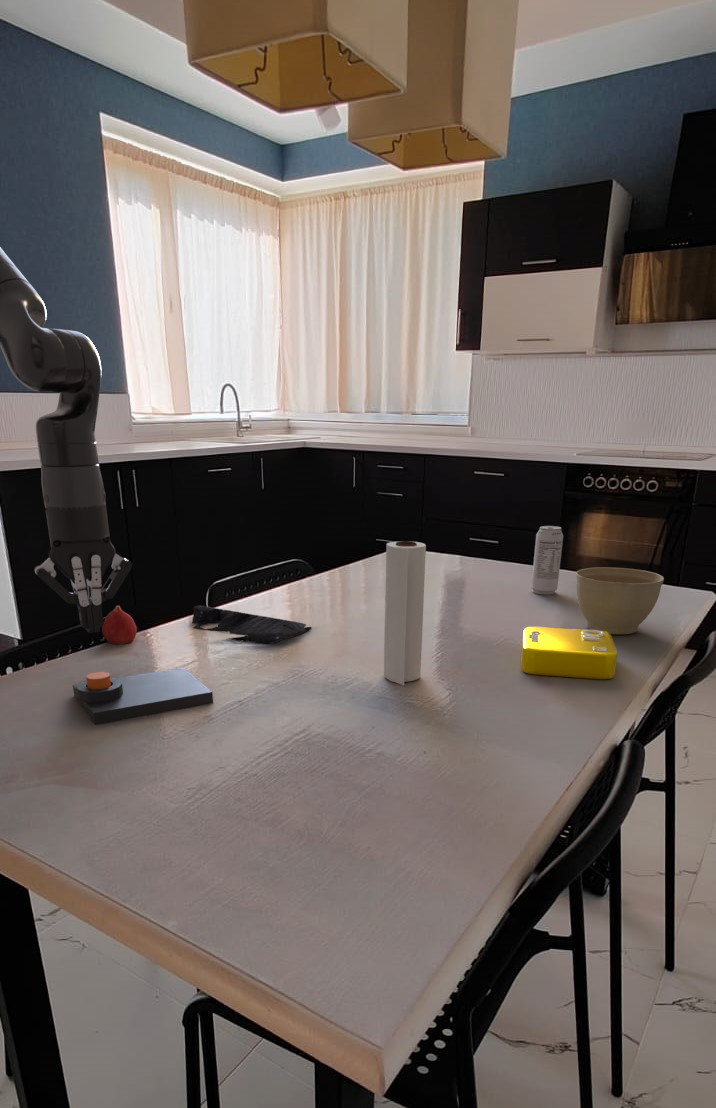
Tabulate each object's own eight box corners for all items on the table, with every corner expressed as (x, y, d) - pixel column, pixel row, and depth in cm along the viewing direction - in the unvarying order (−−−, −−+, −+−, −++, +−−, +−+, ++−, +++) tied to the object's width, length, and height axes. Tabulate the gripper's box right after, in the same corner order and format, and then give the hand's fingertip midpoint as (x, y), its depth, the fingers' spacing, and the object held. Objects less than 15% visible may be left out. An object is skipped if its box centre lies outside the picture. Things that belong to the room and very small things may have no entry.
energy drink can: (556, 590, 184) (564, 526, 178) (556, 595, 179) (564, 529, 173) (531, 588, 185) (537, 525, 180) (530, 594, 180) (536, 528, 174)
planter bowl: (672, 632, 151) (681, 577, 146) (618, 645, 142) (627, 587, 138) (605, 615, 163) (612, 563, 158) (552, 626, 154) (558, 571, 150)
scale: (91, 726, 105) (87, 702, 103) (70, 697, 115) (67, 675, 113) (213, 704, 113) (211, 681, 111) (184, 678, 123) (182, 657, 122)
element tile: (521, 648, 140) (524, 622, 138) (607, 654, 137) (610, 628, 135) (520, 674, 126) (523, 646, 125) (615, 681, 124) (619, 652, 122)
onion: (97, 652, 136) (92, 607, 133) (118, 643, 141) (113, 600, 137) (124, 656, 134) (119, 610, 131) (145, 647, 139) (140, 603, 135)
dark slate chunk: (275, 651, 137) (274, 625, 135) (177, 635, 146) (175, 610, 144) (318, 631, 149) (317, 607, 148) (225, 617, 158) (223, 594, 157)
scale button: (90, 692, 108) (88, 680, 107) (85, 685, 110) (83, 673, 110) (113, 688, 109) (112, 676, 109) (107, 681, 112) (106, 670, 111)
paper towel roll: (396, 668, 129) (400, 538, 120) (427, 675, 126) (433, 542, 117) (371, 679, 123) (374, 544, 115) (403, 687, 120) (408, 548, 112)
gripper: (118, 496, 106) (132, 619, 113) (16, 501, 100) (37, 631, 107) (134, 501, 100) (147, 631, 107) (26, 507, 94) (48, 644, 101)
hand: (92, 631), depth 107 cm, fingers closed
